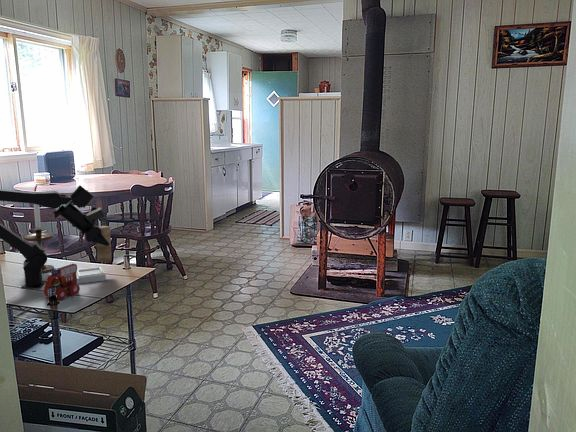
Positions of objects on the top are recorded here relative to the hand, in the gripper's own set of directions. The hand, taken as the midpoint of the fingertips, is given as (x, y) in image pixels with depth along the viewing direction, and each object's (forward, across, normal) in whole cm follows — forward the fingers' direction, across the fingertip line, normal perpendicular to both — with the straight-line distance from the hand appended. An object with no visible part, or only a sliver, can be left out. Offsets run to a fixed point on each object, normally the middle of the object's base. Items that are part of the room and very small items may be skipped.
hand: (107, 243), depth 181 cm
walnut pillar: (+4, 0, +6) cm, 7 cm away
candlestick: (-6, +18, +26) cm, 33 cm away
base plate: (+5, 0, +14) cm, 15 cm away
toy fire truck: (-3, -16, +22) cm, 27 cm away
